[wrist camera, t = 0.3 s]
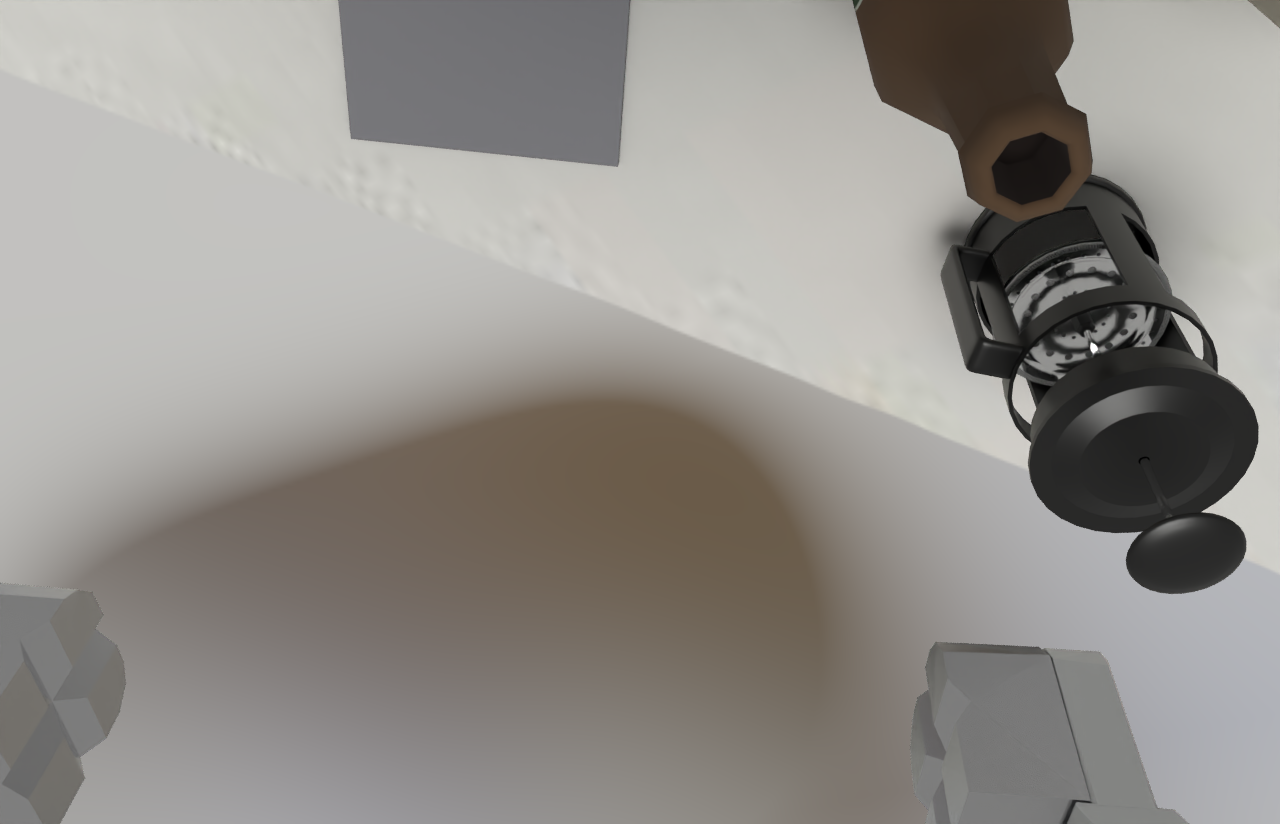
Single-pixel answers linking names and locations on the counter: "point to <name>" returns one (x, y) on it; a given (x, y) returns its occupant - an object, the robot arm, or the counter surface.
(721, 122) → the counter surface
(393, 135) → the mat
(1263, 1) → the travel mug
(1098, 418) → the french press
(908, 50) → the beer bottle
